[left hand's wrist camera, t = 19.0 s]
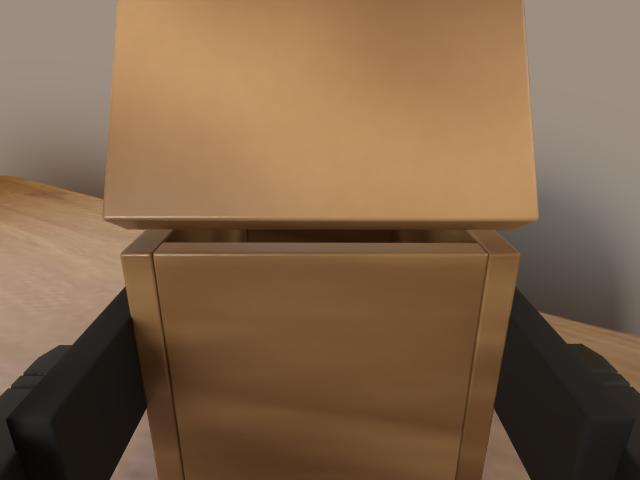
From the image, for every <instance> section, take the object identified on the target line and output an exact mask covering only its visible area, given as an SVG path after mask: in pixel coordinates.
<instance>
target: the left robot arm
mask: <svg viewBox="0 0 640 480" xmlns="http://www.w3.org/2000/svg"><path fill="white" fill-rule="evenodd" d="M617 372H618V371H617V370H616V369H615V368H614V367H613V366H612V365H611V364H610V363H609V362H608V361H607V360H606V359H605V358H604V357H603V356H601V355H599V354H598V353H596V352H594V351H593V350H591V349H589V348H588V347H586V346H584V345H583V344H567V343H566V342H565V341H564V340H563V339H562V338H561V337H560V336H559V334H558V333H557V332H556V331H555V330H554V329H553V328H552V327H551V326H550V325H549V323H548V322H547V321H546V320H545V319H544V318H543V317H542V316H541V315H540V313H539V312H538V311H537V310H536V309H535V308H534V307H533V306H532V305H531V304H530V302H529V301H528V300H527V299H526V298H525V297H524V296H523V295H522V294H521V292H520V291H519V290H518V289H517V288H516V287H515V291H514V297H513V303H512V308H511V314H510V319H509V324H508V330H507V336H506V342H505V347H504V353H503V359H502V365H501V370H500V376H499V382H498V388H497V393H496V399H495V405H494V409H495V411H496V413H497V415H498V417H499V419H500V421H501V423H502V425H503V427H504V428H505V430H506V432H507V434H508V436H509V438H510V440H511V442H512V444H513V446H514V448H515V450H516V452H517V454H518V456H519V458H520V460H521V461H522V463H523V465H524V467H525V469H526V471H527V473H528V475H529V477H530V479H531V480H640V394H639V393H638V392H637V391H636V390H635V389H634V388H633V387H630V384H629V382H628V381H627V380H626V379H625V378H624V377H623V376H622V375H621V374H618V373H617ZM145 410H146V402H145V396H144V390H143V384H142V379H141V373H140V367H139V361H138V355H137V349H136V344H135V338H134V332H133V326H132V320H131V314H130V308H129V303H128V297H127V291H126V286H125V288H124V289H123V290H122V291H121V292H120V293H119V294H118V295H117V296H116V298H115V299H114V300H113V301H112V302H111V303H110V304H109V305H108V306H107V307H106V309H105V310H104V311H103V312H102V313H101V314H100V315H99V316H98V317H97V319H96V320H95V321H94V322H93V323H92V324H91V325H90V326H89V327H88V328H87V330H86V331H85V332H84V333H83V334H82V335H81V336H80V337H79V338H78V340H77V341H76V342H75V343H74V344H73V345H59V346H57V347H56V348H54V349H52V350H51V351H49V352H47V353H46V354H44V355H42V356H41V357H39V358H38V359H37V360H36V361H35V362H34V363H33V364H32V365H31V366H30V367H29V368H28V369H27V370H26V371H25V372H24V375H23V376H20V377H19V378H18V379H17V380H16V381H15V382H14V383H13V384H12V385H11V389H7V390H6V391H5V392H4V393H3V394H2V395H1V396H0V480H110V478H111V476H112V474H113V472H114V470H115V468H116V466H117V464H118V463H119V461H120V459H121V457H122V455H123V453H124V451H125V449H126V447H127V445H128V443H129V441H130V439H131V437H132V435H133V433H134V431H135V430H136V428H137V426H138V424H139V422H140V420H141V418H142V416H143V414H144V412H145Z"/></svg>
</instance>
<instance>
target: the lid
mask: <svg viewBox="0 0 640 480" xmlns="http://www.w3.org/2000/svg"><path fill="white" fill-rule="evenodd" d="M102 217H103V220H105V221H107V222H110V223H113V224H115V225H118V226H120V227H123V228H125V229H177V230H515V229H517V228H520V227H522V226H525V225H528V224H530V223H533V222H535V221H538V218H539V213H538V198H537V183H536V169H535V155H534V140H533V125H532V111H531V97H530V82H529V67H528V53H527V38H526V24H525V9H524V0H118V6H117V20H116V34H115V48H114V62H113V76H112V90H111V104H110V118H109V132H108V146H107V160H106V174H105V188H104V202H103V216H102Z"/></svg>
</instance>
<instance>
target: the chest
mask: <svg viewBox="0 0 640 480" xmlns="http://www.w3.org/2000/svg"><path fill="white" fill-rule="evenodd" d="M520 257H521V256H520V253H519V252H518V251H517V250H516V249H514V248H513V247H512V246H511V245H510V244H509V243H508V242H507V241H506V240H505V239H504V238H503V237H501V236H500V235H499V234H498V233H497V232H496V231H495V230H177V229H147V230H146V231H144V232H143V233H142V234H141V235H140V236H139V237H138V238H137V239H136V240H135V241H134V242H132V243H131V244H130V245H129V246H128V247H127V248H126V249H125V250H124V251H123V252H122V253H121V262H122V267H123V273H124V279H125V285H126V291H127V297H128V303H129V308H130V314H131V320H132V326H133V332H134V338H135V344H136V349H137V355H138V361H139V367H140V373H141V379H142V384H143V390H144V396H145V402H146V408H147V414H148V420H149V426H150V431H151V437H152V443H153V449H154V455H155V461H156V467H157V472H158V478H159V480H481V479H482V474H483V468H484V462H485V456H486V451H487V445H488V439H489V434H490V428H491V422H492V417H493V411H494V405H495V399H496V393H497V388H498V382H499V376H500V370H501V365H502V359H503V353H504V347H505V342H506V336H507V330H508V324H509V319H510V314H511V308H512V303H513V297H514V291H515V286H516V280H517V274H518V269H519V263H520Z"/></svg>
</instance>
